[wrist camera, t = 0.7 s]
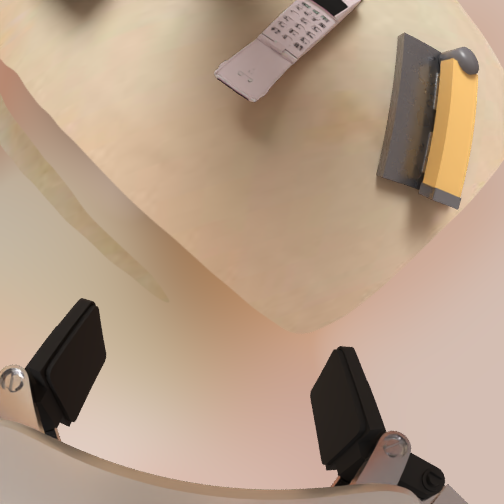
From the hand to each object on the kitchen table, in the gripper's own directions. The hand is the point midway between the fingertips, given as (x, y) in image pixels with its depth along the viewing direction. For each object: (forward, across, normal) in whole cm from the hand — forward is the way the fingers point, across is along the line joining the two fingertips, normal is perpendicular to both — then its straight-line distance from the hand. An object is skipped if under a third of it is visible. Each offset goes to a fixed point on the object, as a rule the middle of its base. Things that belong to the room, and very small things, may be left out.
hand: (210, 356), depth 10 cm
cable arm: (+25, -25, -19) cm, 40 cm away
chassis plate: (+27, -24, -18) cm, 41 cm away
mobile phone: (+28, -3, -24) cm, 37 cm away
